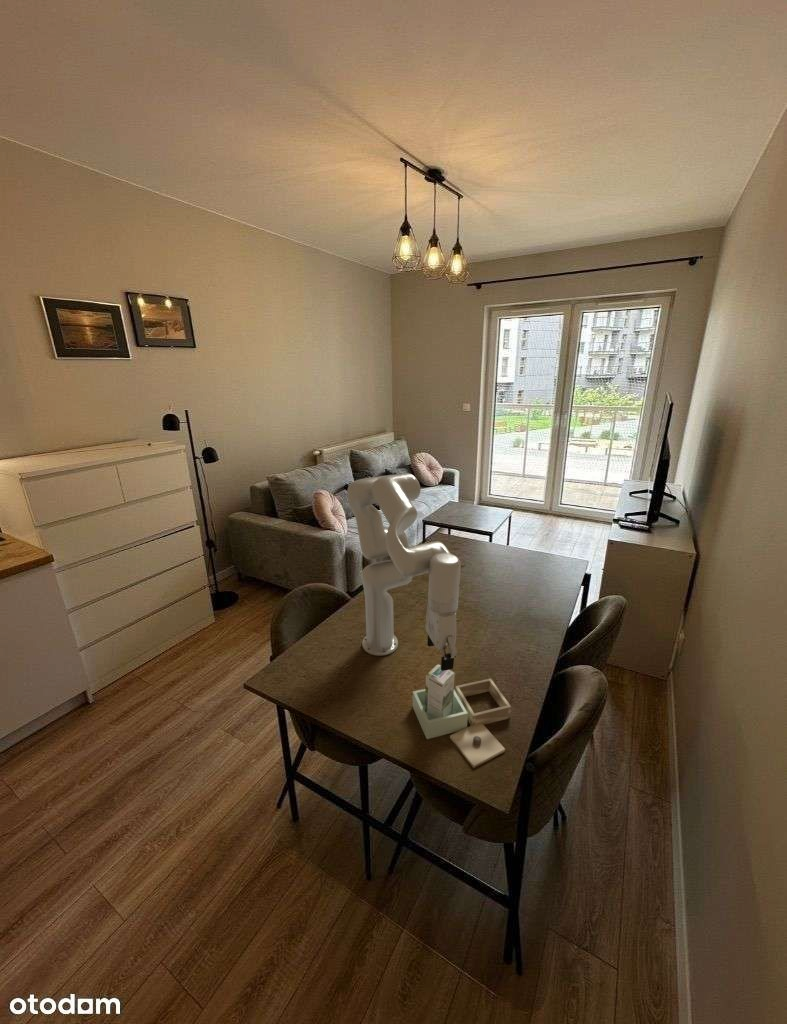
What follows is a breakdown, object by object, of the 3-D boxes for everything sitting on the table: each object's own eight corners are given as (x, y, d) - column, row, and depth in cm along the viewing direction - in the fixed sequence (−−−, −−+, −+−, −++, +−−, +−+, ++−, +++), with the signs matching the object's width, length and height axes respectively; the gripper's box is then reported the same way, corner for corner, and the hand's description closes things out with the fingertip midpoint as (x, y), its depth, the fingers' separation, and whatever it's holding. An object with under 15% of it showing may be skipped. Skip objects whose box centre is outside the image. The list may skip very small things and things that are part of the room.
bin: (412, 706, 120) (412, 691, 119) (449, 698, 123) (450, 683, 122) (426, 739, 110) (426, 723, 108) (466, 729, 113) (467, 713, 111)
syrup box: (435, 704, 120) (436, 662, 115) (453, 714, 116) (455, 671, 112) (424, 716, 116) (424, 673, 111) (441, 727, 112) (443, 683, 108)
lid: (449, 737, 110) (450, 732, 110) (479, 723, 115) (480, 718, 114) (473, 768, 102) (474, 762, 101) (504, 751, 106) (505, 746, 106)
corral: (454, 697, 124) (455, 686, 123) (489, 688, 127) (490, 678, 126) (472, 727, 113) (472, 716, 112) (510, 718, 116) (511, 706, 115)
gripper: (417, 586, 111) (415, 639, 117) (442, 624, 96) (438, 682, 102) (443, 582, 113) (440, 634, 119) (471, 618, 98) (466, 676, 104)
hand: (439, 656), depth 110 cm, fingers open, 9 cm apart
